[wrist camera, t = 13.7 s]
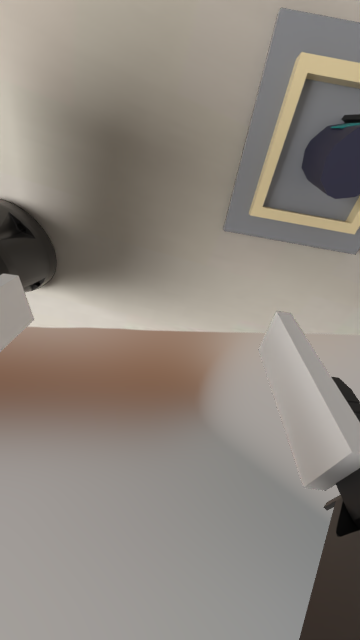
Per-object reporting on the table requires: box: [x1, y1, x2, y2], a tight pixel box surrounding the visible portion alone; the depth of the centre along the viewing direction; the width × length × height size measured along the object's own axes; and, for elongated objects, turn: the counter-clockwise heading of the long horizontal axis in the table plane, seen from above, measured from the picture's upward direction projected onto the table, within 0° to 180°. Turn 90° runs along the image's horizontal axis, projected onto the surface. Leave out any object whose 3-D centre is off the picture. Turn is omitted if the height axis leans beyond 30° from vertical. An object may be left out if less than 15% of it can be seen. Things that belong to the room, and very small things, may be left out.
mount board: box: [223, 8, 360, 255], centre depth 26 cm, size 20×20×2 cm
